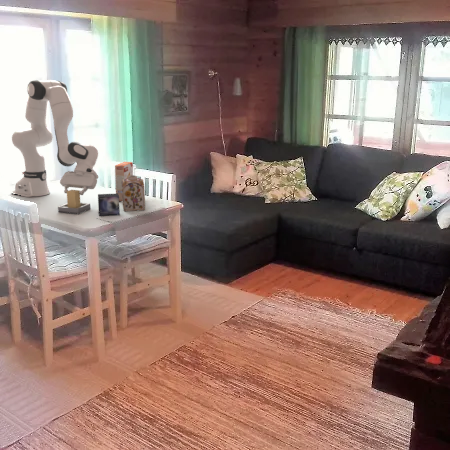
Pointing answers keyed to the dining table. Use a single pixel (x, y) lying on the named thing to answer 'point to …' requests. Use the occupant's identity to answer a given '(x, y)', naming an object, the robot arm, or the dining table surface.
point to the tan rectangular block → (73, 198)
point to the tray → (69, 210)
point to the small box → (108, 204)
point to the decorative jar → (133, 194)
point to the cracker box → (122, 175)
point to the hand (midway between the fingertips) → (73, 193)
